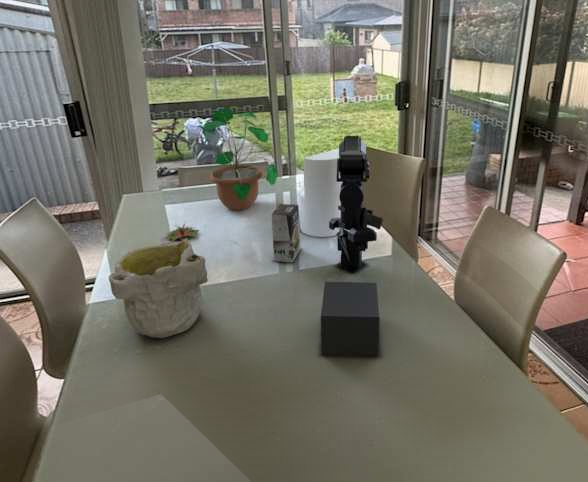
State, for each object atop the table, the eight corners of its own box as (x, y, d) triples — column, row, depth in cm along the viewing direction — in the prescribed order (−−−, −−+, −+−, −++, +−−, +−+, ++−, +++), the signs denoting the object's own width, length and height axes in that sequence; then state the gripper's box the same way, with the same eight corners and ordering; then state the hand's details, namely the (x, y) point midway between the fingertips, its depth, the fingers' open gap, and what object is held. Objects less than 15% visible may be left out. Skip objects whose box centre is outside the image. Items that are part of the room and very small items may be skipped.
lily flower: (186, 245, 149) (184, 233, 147) (157, 240, 152) (155, 228, 151) (206, 231, 159) (205, 219, 158) (179, 226, 163) (177, 215, 161)
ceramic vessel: (86, 282, 112) (140, 201, 111) (173, 314, 125) (221, 241, 124) (78, 333, 93) (143, 235, 92) (181, 364, 105) (239, 278, 104)
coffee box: (293, 263, 137) (290, 215, 131) (273, 261, 138) (270, 214, 132) (301, 249, 145) (299, 204, 140) (282, 247, 147) (279, 203, 141)
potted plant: (275, 218, 169) (269, 115, 155) (200, 218, 170) (187, 116, 156) (284, 190, 198) (280, 102, 184) (221, 190, 199) (211, 102, 184)
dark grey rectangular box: (325, 317, 111) (324, 281, 107) (375, 318, 111) (376, 282, 107) (321, 355, 99) (320, 315, 95) (377, 356, 98) (379, 317, 94)
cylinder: (356, 226, 162) (357, 152, 152) (322, 241, 151) (321, 163, 140) (323, 213, 173) (322, 144, 163) (290, 226, 162) (286, 153, 152)
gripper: (396, 206, 108) (395, 267, 110) (365, 196, 125) (364, 249, 128) (354, 208, 104) (354, 272, 106) (328, 198, 122) (328, 253, 124)
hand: (351, 261), depth 116 cm, fingers closed
